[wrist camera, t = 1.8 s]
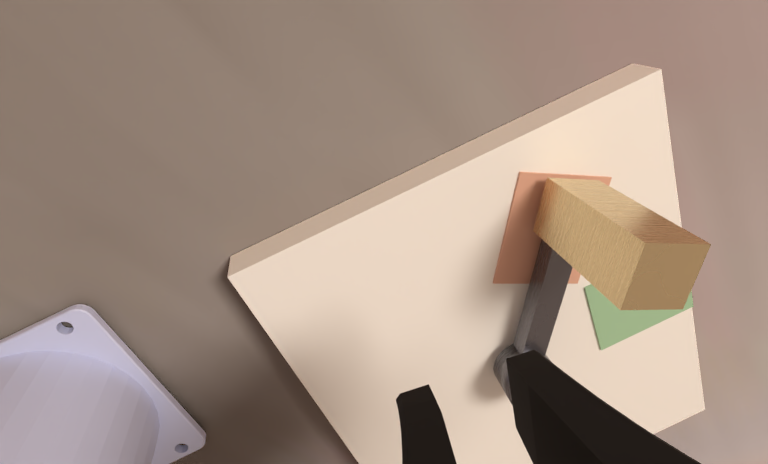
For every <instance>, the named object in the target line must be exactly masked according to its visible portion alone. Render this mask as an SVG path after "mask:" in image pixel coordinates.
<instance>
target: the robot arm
mask: <svg viewBox="0 0 768 464" xmlns="http://www.w3.org/2000/svg"><path fill="white" fill-rule="evenodd" d="M61 322H68V323H70V324H72V326H73V327H71V328H69V327H65V326H63V325H62V323H61ZM506 363H507V370H508V377H509V384H510V391H511V398H512V405H513V411H514V418H515V425H516V429H517V431H518V433H519V435H520V437H521V439H522V441H523V444H524V446H525V448H526V450H527V452H528V454H529V456H530V458H531V460H532V462H533V464H701V463H699V462H697V461H696V460H694V459H692V458H691V457H689V456H687V455H686V454H684V453H682V452H681V451H679V450H678V449H676V448H674V447H673V446H671V445H669V444H668V443H666V442H665V441H663V440H661V439H660V438H658V437H657V436H655V435H653V434H652V433H650V432H649V431H647V430H646V429H644V428H643V427H641V426H640V425H638V424H637V423H635V422H634V421H632V420H631V419H629V418H628V417H626V416H625V415H623V414H622V413H620V412H619V411H618V410H616V409H615V408H613V407H612V406H610V405H609V404H607V403H606V402H604V401H603V400H602V399H600V398H599V397H597V396H596V395H595V394H593V393H592V392H590V391H589V390H588V389H586V388H585V387H584V386H582V385H581V384H580V383H578V382H577V381H576V380H574V379H573V378H572V377H570V376H569V375H568V374H566V373H565V372H564V371H562V370H561V369H560V368H558V367H557V366H556V365H555V364H553V363H552V362H551V361H550V360H548V359H547V358H546V357H544V356H543V355H542V354H541V353H539V352H538V351H536V350H531V351H528V352H525V353H522V354H519V355H516V356H513V357H510V358H507V359H506ZM396 403H397V407H398V412H399V419H400V427H401V439H402V464H457V463H456V460H455V456H454V453H453V450H452V446H451V443H450V439H449V436H448V432H447V429H446V425H445V422H444V418H443V415H442V412H441V410H440V408H439V405H438V403H437V401H436V399H435V397H434V394H433V392H432V390H431V388H430V386H429V384H428V385H425V386H422V387H418V388H415V389H412V390H409V391H406V392H403V393H400V394H399V396H398V397H397V398H396ZM205 441H206V433H205V431H204V430H203V429H202V428H201V427H200V426H199V425H198V424H197V422H196V421H195V420H194V419H193V418H192V417H191V416H190V415H189V414H188V413H187V411H186V410H185V409H184V408H183V407H182V406H181V405H180V404H179V403H178V402H177V400H176V399H175V398H174V397H173V396H172V395H171V394H170V393H169V392H168V391H167V389H166V388H165V387H164V386H163V385H162V384H161V383H160V382H159V381H158V380H157V378H156V377H155V376H154V375H153V374H152V373H151V372H150V371H149V370H148V369H147V367H146V366H145V365H144V364H143V363H142V362H141V361H140V360H139V359H138V358H137V356H136V355H135V354H134V353H133V352H132V351H131V350H130V349H129V348H128V347H127V345H126V344H125V343H124V342H123V341H122V340H121V339H120V338H119V337H118V336H117V334H116V333H115V332H114V331H113V330H112V329H111V328H110V327H109V326H108V325H107V323H106V322H105V321H104V320H103V319H102V318H101V317H100V316H99V315H98V314H97V312H96V311H95V310H94V309H92V308H91V307H90V306H87V305H84V304H76V305H73V306H70V307H68V308H66V309H64V310H62V311H60V312H58V313H56V314H54V315H52V316H49V317H47V318H45V319H43V320H41V321H39V322H37V323H35V324H33V325H31V326H29V327H27V328H24V329H22V330H20V331H18V332H16V333H14V334H12V335H10V336H8V337H6V338H4V339H2V340H0V464H170V463H172V462H174V461H176V460H178V459H180V458H182V457H184V456H186V455H189V454H191V453H193V452H195V451H197V450H199V449H201V448H202V447H203V446H204V444H205ZM179 444H186V445H179Z"/></svg>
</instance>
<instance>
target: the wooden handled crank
mask: <svg viewBox="0 0 768 464" xmlns="http://www.w3.org/2000/svg"><path fill="white" fill-rule="evenodd" d="M533 231H534V232H535V233H536V234H537V235H538V236H539V237H540V238H541V239H542V240H541V244H540V247H539V251H538V255H537V258H536V262H535V266H534V269H533V273H532V276H531V280H530V284H529V287H528V291H527V295H526V298H525V302H524V305H523V309H522V313H521V316H520V320H519V323H518V327H517V331H516V334H515V338H514V342H513V344H512V345H510V346H508V347H506V348H505V349H504V350H503V351H502V352H501V353H500V354H499V355H498V356H497V358H496V360H495V362H494V366H493V371H494V375H495V377H496V378H497V380H498V382H499V383H500V385H501V387H502V389H503V390H504V392H505V394H506V395H507V397H508V399H509V401H510V402H511V404H512V398H511V391H510V384H509V377H508V370H507V363H506V359H507V358H510V357H513V356H516V355H519V354H522V353H525V352H528V351H531V350H536V351H538V352H539V353H541V354H542V355H543V356H544V357H546V358H547V359H548V360H550V359H549V358H548V356H547V355H546V351H547V348H548V345H549V342H550V338H551V335H552V332H553V329H554V326H555V322H556V319H557V316H558V313H559V310H560V306H561V303H562V300H563V297H564V294H565V290H566V287H567V284H568V281H569V278H570V274H571V271H572V268H574V269H575V270H576V271H578V272H579V273H580V274H581V275H582V276H583V277H584V278H585V279H586V280H587V281H589V282H590V283H591V284H592V285H593V286H594V287H595V288H596V289H597V290H598V291H600V292H601V293H602V294H603V295H604V296H605V297H606V298H607V299H608V300H609V301H611V302H612V303H613V304H614V305H615V306H616V307H617V308H618V309H619V310H676V309H683V308H684V306H685V303H686V301H687V299H688V296H689V294H690V292H691V289H692V287H693V285H694V283H695V280H696V278H697V276H698V273H699V271H700V269H701V266H702V264H703V262H704V259H705V257H706V255H707V252H708V250H709V248H710V246H711V244H709V243H708V242H706V241H704V240H702V239H701V238H699V237H697V236H695V235H694V234H692V233H690V232H688V231H687V230H685V229H683V228H681V227H680V226H678V225H676V224H674V223H673V222H671V221H669V220H667V219H666V218H664V217H662V216H660V215H659V214H657V213H655V212H653V211H652V210H650V209H648V208H646V207H645V206H643V205H641V204H640V203H638V202H636V201H634V200H633V199H631V198H629V197H627V196H626V195H624V194H622V193H620V192H619V191H617V190H615V189H613V188H612V187H610V186H608V185H606V184H605V183H603V182H601V181H599V180H586V179H567V178H549V177H547V180H546V184H545V188H544V191H543V195H542V199H541V203H540V206H539V210H538V214H537V218H536V222H535V225H534V229H533ZM550 361H551V360H550ZM512 406H513V405H512Z"/></svg>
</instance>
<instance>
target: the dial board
mask: <svg viewBox="0 0 768 464" xmlns="http://www.w3.org/2000/svg"><path fill="white" fill-rule="evenodd" d="M547 177H549V178H567V179H586V180H599V181H601V182H603V183H605V184H606V185H608V186H610V187H612V188H613V189H615V190H617V191H619V192H620V193H622V194H624V195H626V196H627V197H629V198H631V199H633V200H634V201H636V202H638V203H640V204H641V205H643V206H645V207H646V208H648V209H650V210H652V211H653V212H655V213H657V214H659V215H660V216H662V217H664V218H666V219H667V220H669V221H671V222H673V223H674V224H676V225H678V226H680V227H681V228H682V226H681V219H680V211H679V203H678V195H677V187H676V180H675V172H674V164H673V156H672V148H671V141H670V133H669V125H668V117H667V110H666V102H665V94H664V86H663V78H662V71H661V69H659V68H654V67H649V66H643V65H638V64H633V63H632V64H630V65H628V66H626V67H624V68H622V69H619V70H617V71H615V72H613V73H611V74H609V75H607V76H605V77H603V78H601V79H599V80H597V81H594V82H592V83H590V84H588V85H586V86H584V87H582V88H580V89H578V90H576V91H574V92H572V93H569V94H567V95H565V96H563V97H561V98H559V99H557V100H555V101H553V102H551V103H549V104H547V105H544V106H542V107H540V108H538V109H536V110H534V111H532V112H530V113H528V114H526V115H524V116H522V117H519V118H517V119H515V120H513V121H511V122H509V123H507V124H505V125H503V126H501V127H499V128H497V129H494V130H492V131H490V132H488V133H486V134H484V135H482V136H480V137H478V138H476V139H474V140H472V141H469V142H467V143H465V144H463V145H461V146H459V147H457V148H455V149H453V150H451V151H449V152H446V153H444V154H442V155H440V156H438V157H436V158H434V159H432V160H430V161H428V162H426V163H424V164H421V165H419V166H417V167H415V168H413V169H411V170H409V171H407V172H405V173H403V174H401V175H399V176H396V177H394V178H392V179H390V180H388V181H386V182H384V183H382V184H380V185H378V186H376V187H374V188H371V189H369V190H367V191H365V192H363V193H361V194H359V195H357V196H355V197H353V198H351V199H349V200H346V201H344V202H342V203H340V204H338V205H336V206H334V207H332V208H330V209H328V210H326V211H324V212H321V213H319V214H317V215H315V216H313V217H311V218H309V219H307V220H305V221H303V222H301V223H299V224H296V225H294V226H292V227H290V228H288V229H286V230H284V231H282V232H280V233H278V234H276V235H274V236H271V237H269V238H267V239H265V240H263V241H261V242H259V243H257V244H255V245H253V246H251V247H248V248H246V249H244V250H242V251H240V252H238V253H236V254H234V255H232V256H231V257H230V263H229V270H228V276H227V277H228V279H229V280H230V282H231V283H232V284H233V286H234V287H235V289H236V290H237V291H238V293H239V294H240V296H241V297H242V299H243V300H244V301H245V303H246V304H247V306H248V307H249V308H250V310H251V311H252V313H253V314H254V316H255V317H256V318H257V320H258V321H259V323H260V324H261V326H262V327H263V328H264V330H265V331H266V333H267V334H268V335H269V337H270V338H271V340H272V341H273V343H274V344H275V345H276V347H277V348H278V350H279V351H280V352H281V354H282V355H283V357H284V358H285V360H286V361H287V362H288V364H289V365H290V367H291V368H292V370H293V371H294V372H295V374H296V375H297V377H298V378H299V379H300V381H301V382H302V384H303V385H304V387H305V388H306V389H307V391H308V392H309V394H310V395H311V396H312V398H313V399H314V401H315V402H316V404H317V405H318V406H319V408H320V409H321V411H322V412H323V413H324V415H325V416H326V418H327V419H328V421H329V422H330V423H331V425H332V426H333V428H334V429H335V431H336V432H337V433H338V435H339V436H340V438H341V439H342V440H343V442H344V443H345V445H346V446H347V448H348V449H349V450H350V452H351V453H352V455H353V456H354V457H355V459H356V460H357V462H358V463H359V464H402V439H401V427H400V419H399V412H398V407H397V403H396V398H397V397H398V396H399V394H400V393H403V392H406V391H409V390H412V389H415V388H418V387H422V386H425V385H428V384H429V386H430V388H431V390H432V392H433V394H434V397H435V399H436V401H437V403H438V405H439V408H440V410H441V412H442V415H443V418H444V422H445V425H446V429H447V432H448V436H449V439H450V443H451V446H452V450H453V453H454V456H455V460H456V463H457V464H533V462H532V460H531V458H530V456H529V454H528V452H527V450H526V448H525V446H524V444H523V441H522V439H521V437H520V435H519V433H518V431H517V429H516V425H515V418H514V411H513V406H512V404H511V402H510V401H509V399H508V397H507V395H506V394H505V392H504V390H503V389H502V387H501V385H500V383H499V382H498V380H497V378H496V377H495V375H494V371H493V366H494V362H495V360H496V358H497V356H498V355H499V354H500V353H501V352H502V351H503V350H504V349H505V348H506V347H508V346H510V345H512V344H513V342H514V338H515V334H516V331H517V327H518V323H519V320H520V316H521V313H522V309H523V305H524V302H525V298H526V295H527V291H528V287H529V284H530V280H531V276H532V273H533V269H534V266H535V262H536V258H537V255H538V251H539V247H540V244H541V240H542V239H541V238H540V237H539V236H538V235H537V234H536V233H535V232H534V231H533V229H534V225H535V222H536V218H537V214H538V210H539V206H540V203H541V199H542V195H543V191H544V188H545V184H546V180H547ZM692 307H693V300H692V292H690V294H689V296H688V299H687V301H686V303H685V306H684V308H683V309H676V310H619V309H618V308H617V307H616V306H615V305H614V304H613V303H612V302H611V301H609V300H608V299H607V298H606V297H605V296H604V295H603V294H602V293H601V292H600V291H598V290H597V289H596V288H595V287H594V286H593V285H592V284H591V283H590V282H589V281H587V280H586V279H585V278H584V277H583V276H582V275H581V274H580V273H579V272H578V271H576V270H575V269H574V268H572V271H571V274H570V278H569V281H568V284H567V287H566V290H565V294H564V297H563V300H562V303H561V306H560V310H559V313H558V316H557V319H556V322H555V326H554V329H553V332H552V335H551V338H550V342H549V345H548V348H547V351H546V355H547V356H548V358H549V359H550V360H551V362H552V363H553V364H555V365H556V366H557V367H558V368H560V369H561V370H562V371H564V372H565V373H566V374H568V375H569V376H570V377H572V378H573V379H574V380H576V381H577V382H578V383H580V384H581V385H582V386H584V387H585V388H586V389H588V390H589V391H590V392H592V393H593V394H595V395H596V396H597V397H599V398H600V399H602V400H603V401H604V402H606V403H607V404H609V405H610V406H612V407H613V408H615V409H616V410H618V411H619V412H620V413H622V414H623V415H625V416H626V417H628V418H629V419H631V420H632V421H634V422H635V423H637V424H638V425H640V426H641V427H643V428H644V429H646V430H647V431H649V432H650V433H652V434H655V433H657V432H659V431H661V430H663V429H665V428H667V427H669V426H672V425H674V424H676V423H678V422H680V421H682V420H684V419H686V418H688V417H690V416H693V415H695V414H697V413H699V412H701V411H703V410H705V405H704V398H703V390H702V382H701V374H700V366H699V359H698V351H697V343H696V335H695V327H694V320H693V312H692Z"/></svg>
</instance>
